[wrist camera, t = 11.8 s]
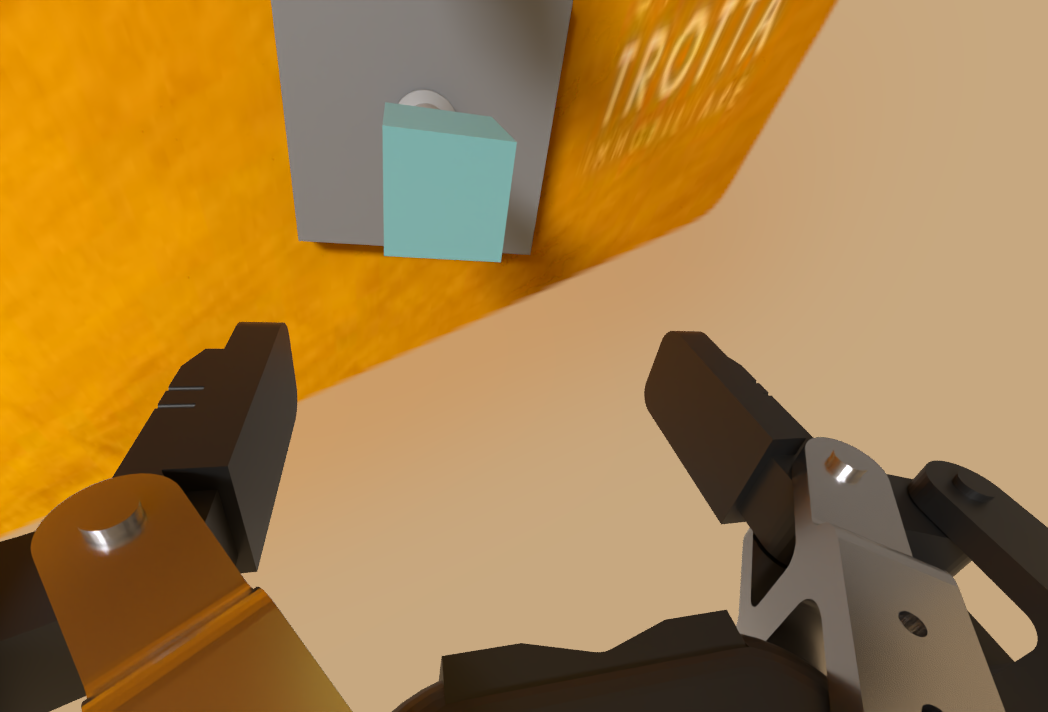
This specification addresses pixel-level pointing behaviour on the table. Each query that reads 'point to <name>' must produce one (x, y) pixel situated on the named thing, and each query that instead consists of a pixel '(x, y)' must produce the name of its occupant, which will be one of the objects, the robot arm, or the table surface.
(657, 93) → the table surface
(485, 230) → the teal cube
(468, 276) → the table surface
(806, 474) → the robot arm
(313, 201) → the post stand
